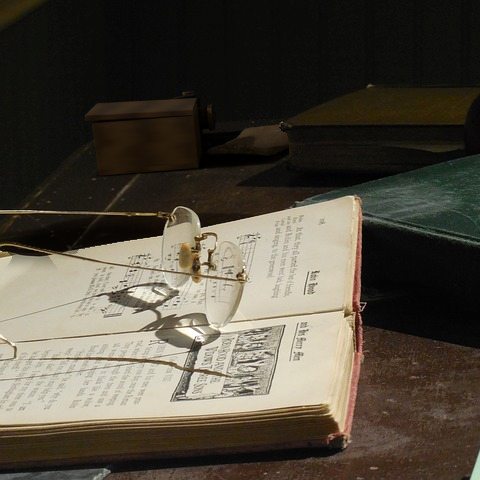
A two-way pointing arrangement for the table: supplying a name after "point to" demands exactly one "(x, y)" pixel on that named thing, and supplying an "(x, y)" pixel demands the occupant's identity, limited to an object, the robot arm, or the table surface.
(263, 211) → the table surface
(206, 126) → the camera
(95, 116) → the lid
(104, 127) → the chest
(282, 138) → the stone
